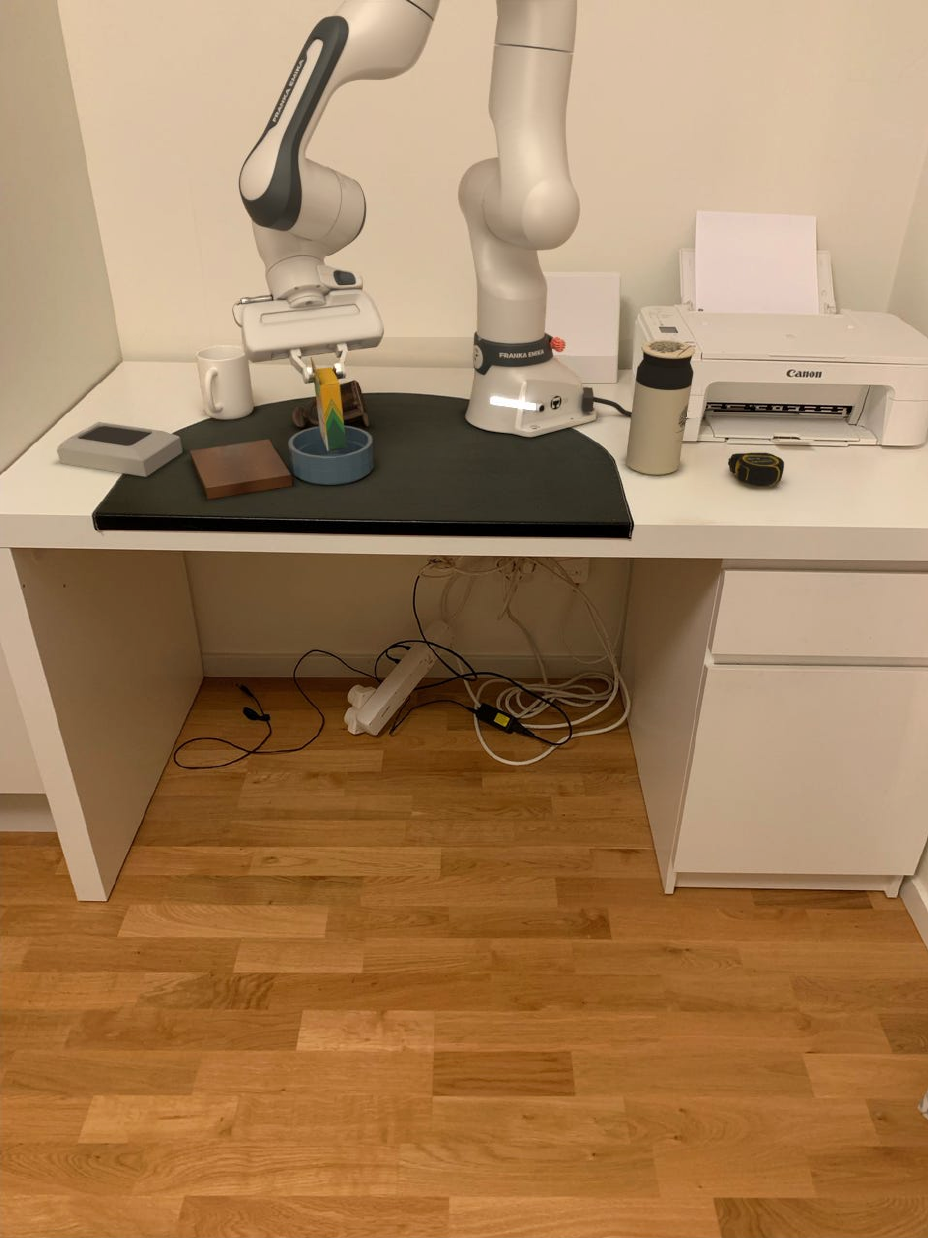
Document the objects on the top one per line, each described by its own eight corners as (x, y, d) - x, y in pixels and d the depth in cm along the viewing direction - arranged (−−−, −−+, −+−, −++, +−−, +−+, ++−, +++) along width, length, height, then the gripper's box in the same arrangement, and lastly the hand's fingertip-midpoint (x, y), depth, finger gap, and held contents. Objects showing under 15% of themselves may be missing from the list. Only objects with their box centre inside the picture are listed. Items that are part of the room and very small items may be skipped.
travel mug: (615, 466, 133) (629, 347, 123) (642, 450, 138) (657, 335, 128) (662, 481, 129) (680, 359, 118) (687, 464, 134) (707, 346, 124)
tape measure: (769, 471, 132) (774, 448, 130) (787, 491, 126) (793, 467, 124) (725, 472, 131) (730, 449, 129) (741, 492, 126) (746, 468, 124)
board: (270, 450, 136) (268, 439, 135) (292, 485, 126) (291, 474, 125) (191, 461, 132) (189, 450, 131) (207, 499, 122) (205, 487, 121)
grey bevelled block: (141, 453, 126) (54, 439, 129) (146, 476, 128) (60, 463, 131) (178, 429, 133) (95, 417, 137) (182, 452, 135) (100, 439, 139)
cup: (261, 404, 153) (254, 346, 147) (236, 429, 143) (228, 368, 137) (216, 401, 154) (207, 343, 148) (188, 426, 144) (178, 365, 138)
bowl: (359, 447, 137) (357, 420, 135) (384, 478, 128) (383, 449, 126) (283, 459, 133) (279, 431, 131) (303, 491, 124) (300, 462, 122)
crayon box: (348, 448, 126) (338, 369, 119) (327, 451, 125) (316, 372, 119) (339, 430, 132) (330, 353, 125) (320, 432, 131) (309, 356, 124)
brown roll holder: (360, 407, 137) (378, 373, 144) (283, 393, 139) (304, 360, 145) (361, 444, 143) (379, 411, 149) (287, 430, 144) (307, 398, 151)
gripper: (229, 286, 120) (254, 378, 118) (371, 272, 126) (397, 359, 124) (228, 311, 125) (252, 399, 124) (363, 297, 132) (388, 380, 130)
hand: (326, 379), depth 124 cm, fingers closed on crayon box, 3 cm apart
